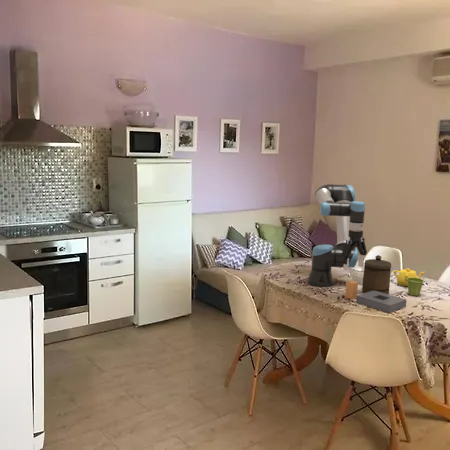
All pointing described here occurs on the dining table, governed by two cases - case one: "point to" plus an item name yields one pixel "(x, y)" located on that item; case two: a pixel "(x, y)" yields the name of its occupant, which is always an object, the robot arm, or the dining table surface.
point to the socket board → (381, 301)
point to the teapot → (406, 276)
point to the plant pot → (414, 286)
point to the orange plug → (351, 289)
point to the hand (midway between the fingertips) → (353, 268)
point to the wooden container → (376, 275)
